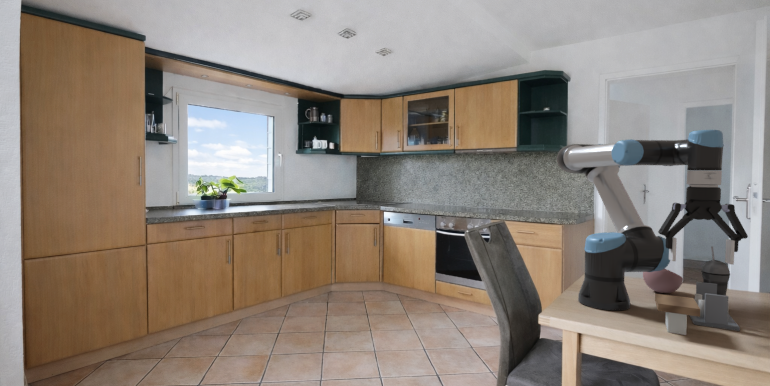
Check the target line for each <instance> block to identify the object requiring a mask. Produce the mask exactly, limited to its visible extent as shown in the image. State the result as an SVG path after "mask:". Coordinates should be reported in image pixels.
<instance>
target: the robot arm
mask: <svg viewBox="0 0 770 386" xmlns="http://www.w3.org/2000/svg"><path fill="white" fill-rule="evenodd" d="M724 146H725V145H724V133H723V131H721V130H719V129H699V130H693V131H690V132H689V134H688V137H687V139H678V140H676V139H675V140H673V139H672V140H667V139H666V140H662V139H661V140H657V139H656V140H655V139H651V140H650V139H649V140H648V139H647V140H646V139H644V140H643V139H622V140H618V141H617V142H610V143H609V142H608V143H598V144H587V143H586V144H584V143H583V144H582V143H580V144H579V143H576V144H574V143H572V144H568V145H565V146H564V147H562V148H561V149H559V150H558V153H557V157H556V162H557V165H558V167H559V168H560V169H561V170H562V171H563V172H566V173H570V174H580V175H581V174H584V175H585V177H586V179H587V181H588V182H589V183H592V184H594V186H595V189H596V191H597V192H598V195H599V197H600V200H602V201H601V202H602V204H603V205H604V207H605V209H606V211H607V214H608V215H609V218H610V220H611V222H612V224H613V227H614V229H615V232H614V231H612V232H611V231H610V232H598V233H592V234H589V235H587V237H586V238H585V242H584V279H583V281H582V284H581V287H580V290H579V291H578V297H577V298H578V302H579V303H580V304H582V305H584V306H587V307H589V308H594V309H599V310H604V311H605V310H606V311H626V310H629V309H630V308H631V298H630V296H629V294H628V290H627V287H626V284H625V273H643V272H653V271H661V270H663V269H667V267H668V265H670V263H671V261H672V262H676V261H677V240H678V238H676V237H675V236H676V235H677V234H679V232H681V231H682V229H684V228H685V226H687V225H688V224H689V223H690V222H692V221H693V220H706V221H711V220H712V221H713V222H714V223H715V224H716V225H717V226H718V227H719V229H721V231H722V232H724V234H725V235H726V236H727V237H728V238H726V239H725V251H724V253H725V255H724V256H725V258H724V262H725V264H728V265H734V263H735V253H738V252H739V242H741V241H742V240H743V239H744V240H745V239H747V238H749V236H748V233H747V232H746V230H745V229H744V226H743V224H742V222H741V221H740V218H738V217H739V216H738V215H737V214H736V210H735V209H736V208H735V204H731V203H725V204H722V203H721V199H722V198H721V197H722V196H721V195H722V188H721V187H720V186H721V185H722V176H723V175H722V173H723V171H722V170H723V156H724V155H723V153H724ZM623 166H625V167H626V166H629V167H630V166H664V167H673V166H687V168H686V169H687V170H686V171H687V172H686V174H687V175H686V185H688V186H687V187H686V191H685V193H686V194H685V201H686V202H685V203H684V204H683V203H680V202H679V203H678V202H673V203H672V206H671V210H670V212H669V214H668V215H667V217H666V218H665V220H664V221H663V223H662V225H661V227H660V228H659V229H658V231H657V232H658V234H659V235H656V234H655V231H654V230H653V228H652V227H651V226H649V225H645V224H644V222H643V220H642V219H641V216H640V214H639V213H638V210H637V209H636V207H635V205H634V203H633V201H632V199H631V197H630V196H629V193H628V191H627V190H626V188H625V186H624V184H623V182H622V180H621V179H620V177H619V174H618V173H619V172H620V168H621V167H623ZM684 210H685V211H686V212H685V214H684V215H682V218H680V219H679V220H678V221H677V222H676V223H675V221H676V219H677V218H678V217H679V215H680V212H682V211H684ZM721 211H723V212H724V213H725V216H726V217H727V220H728V221H729V223H730V225H731V226H732V228H733V229H732V228H731V226H729V225H728V224H727V223H726V221H725V220H724V219H723V217H722V216H721V215H720V214H719V213H720V212H721ZM674 223H675V224H674ZM673 224H674V225H673ZM661 235H662V236H661ZM663 236H664V237H663Z"/></svg>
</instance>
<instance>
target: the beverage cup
mask: <svg viewBox="0 0 770 386" xmlns="http://www.w3.org/2000/svg"><path fill="white" fill-rule="evenodd" d="M710 248H711V257H712V258H711V260H708V261H706V262H705V263H704V264H703V266H702V267H701V271H700V272H701V276H702V277H701V278H702V281H703V282H704V283H714V284H717V295H725V296H727V290H728V285H729V280H730V277H731V273H730V268H729V267H728V265H727V263H726V262H725V263H724V262H723V261H721V260H717V259H715V252H714V246H713V245H712V246H711V247H710Z"/></svg>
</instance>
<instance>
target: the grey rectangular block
mask: <svg viewBox="0 0 770 386" xmlns="http://www.w3.org/2000/svg"><path fill="white" fill-rule="evenodd" d="M687 319H688V315H684V314H677V313H670V312H665V323H664V324H665V327H666V330H667V333H670V334H675V335H676V334H678V335H682V336H686V335H687V322H688V321H687Z"/></svg>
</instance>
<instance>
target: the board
mask: <svg viewBox="0 0 770 386" xmlns="http://www.w3.org/2000/svg"><path fill="white" fill-rule="evenodd" d="M654 301H655V305H656V308H657V311H658V312H662V313H663V312H664V313H666V312H670V313H677V314H684V315H687V316H689V315H691V316H698V317H700V308H699V306H698V305H697V303H696V301H695V297H694V298H693V297H688V296H679V295H671V294H670V295H669V294H664V293H655V294H654Z"/></svg>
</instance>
